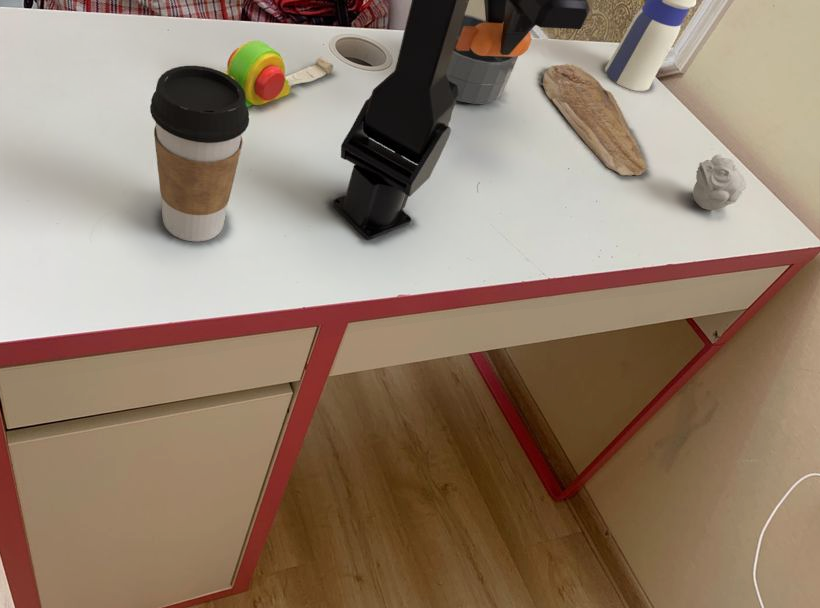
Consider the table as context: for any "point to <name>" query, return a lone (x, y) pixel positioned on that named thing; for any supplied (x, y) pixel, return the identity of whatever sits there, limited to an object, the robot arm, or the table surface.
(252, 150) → the table surface
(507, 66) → the grey round pot
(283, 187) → the table surface
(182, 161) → the coffee cup
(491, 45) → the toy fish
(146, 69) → the table surface
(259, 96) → the toy measuring tape
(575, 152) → the table surface
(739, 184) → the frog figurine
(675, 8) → the water bottle
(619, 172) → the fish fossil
